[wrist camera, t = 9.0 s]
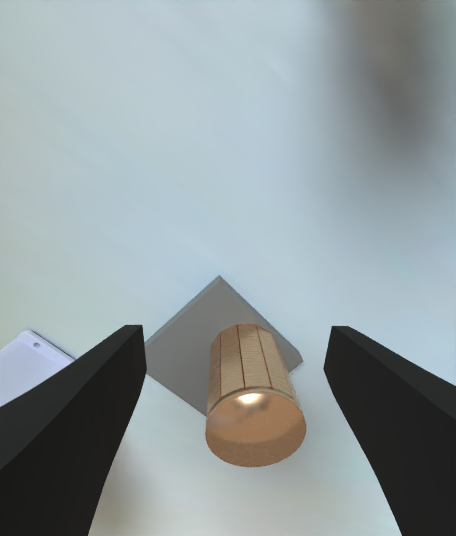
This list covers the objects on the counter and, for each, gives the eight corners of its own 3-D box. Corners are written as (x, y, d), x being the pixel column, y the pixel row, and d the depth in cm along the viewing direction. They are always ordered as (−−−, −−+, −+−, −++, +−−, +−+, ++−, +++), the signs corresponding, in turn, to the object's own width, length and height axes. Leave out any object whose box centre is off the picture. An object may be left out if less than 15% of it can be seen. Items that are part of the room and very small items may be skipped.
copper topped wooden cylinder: (209, 379, 20) (205, 467, 14) (210, 322, 18) (205, 395, 12) (274, 379, 20) (298, 466, 14) (281, 323, 18) (313, 395, 12)
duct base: (134, 351, 20) (107, 405, 15) (219, 275, 18) (219, 309, 13) (217, 412, 23) (216, 474, 18) (299, 351, 21) (323, 403, 16)
